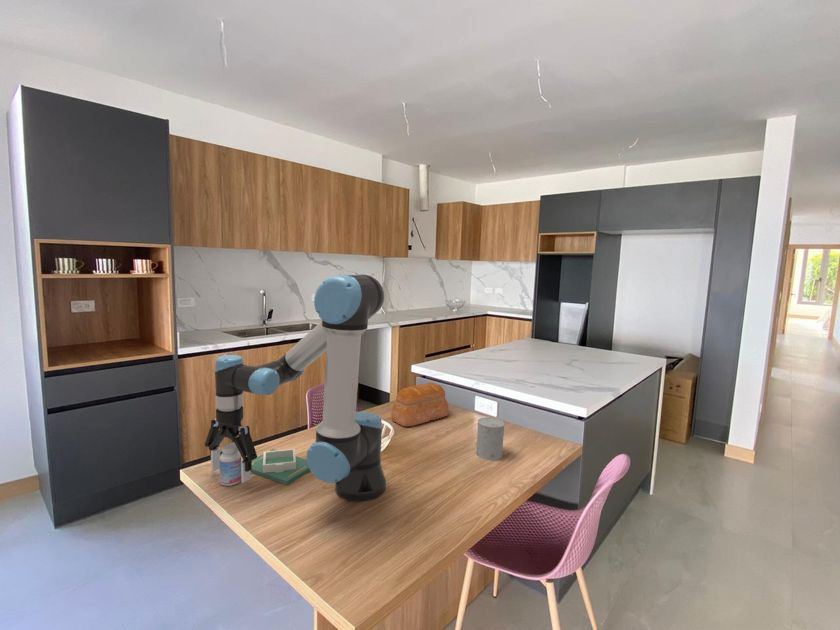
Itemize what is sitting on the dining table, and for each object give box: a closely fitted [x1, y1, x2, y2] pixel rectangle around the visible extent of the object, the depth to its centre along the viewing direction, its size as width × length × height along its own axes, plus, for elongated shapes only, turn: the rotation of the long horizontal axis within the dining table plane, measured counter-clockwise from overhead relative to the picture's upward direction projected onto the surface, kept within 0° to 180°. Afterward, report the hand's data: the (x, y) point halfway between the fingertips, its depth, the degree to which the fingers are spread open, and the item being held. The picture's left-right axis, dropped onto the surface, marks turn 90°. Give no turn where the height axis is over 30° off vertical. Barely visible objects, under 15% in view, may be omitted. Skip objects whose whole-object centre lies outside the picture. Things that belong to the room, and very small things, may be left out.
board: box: [251, 448, 311, 486], centre depth 139 cm, size 20×14×4 cm
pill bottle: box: [219, 442, 242, 487], centre depth 129 cm, size 6×6×11 cm
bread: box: [390, 382, 450, 427], centre depth 187 cm, size 14×26×15 cm, turn 130°
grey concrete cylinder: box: [475, 417, 505, 461], centre depth 154 cm, size 10×10×12 cm
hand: (230, 475), depth 129 cm, fingers open, 12 cm apart
